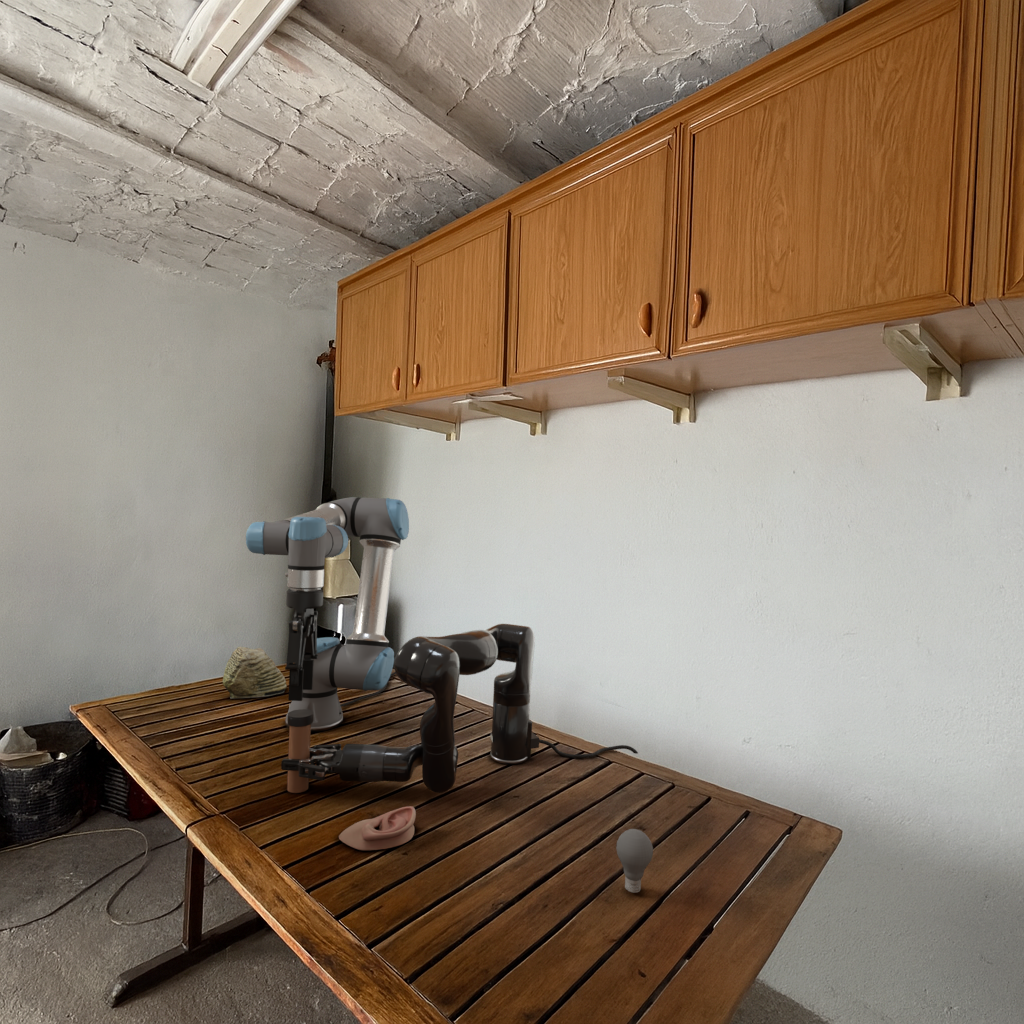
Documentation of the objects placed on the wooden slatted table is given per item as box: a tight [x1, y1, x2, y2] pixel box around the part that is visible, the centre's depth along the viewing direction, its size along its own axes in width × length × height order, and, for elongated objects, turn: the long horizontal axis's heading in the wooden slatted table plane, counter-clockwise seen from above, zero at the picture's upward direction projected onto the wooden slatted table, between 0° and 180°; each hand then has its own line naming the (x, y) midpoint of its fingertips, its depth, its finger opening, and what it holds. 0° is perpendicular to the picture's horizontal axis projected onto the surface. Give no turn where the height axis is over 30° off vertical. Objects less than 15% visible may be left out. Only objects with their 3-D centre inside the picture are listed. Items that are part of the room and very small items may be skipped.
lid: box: [287, 709, 313, 727], centre depth 137 cm, size 5×5×2 cm
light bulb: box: [615, 828, 654, 894], centre depth 106 cm, size 6×6×10 cm
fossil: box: [222, 646, 288, 699], centre depth 198 cm, size 9×18×15 cm, turn 132°
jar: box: [286, 724, 312, 794], centre depth 137 cm, size 4×4×16 cm
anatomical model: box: [338, 805, 417, 851], centre depth 119 cm, size 13×4×12 cm
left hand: (300, 694), depth 136 cm, fingers open, 7 cm apart
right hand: (286, 759), depth 137 cm, fingers closed on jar, 4 cm apart
